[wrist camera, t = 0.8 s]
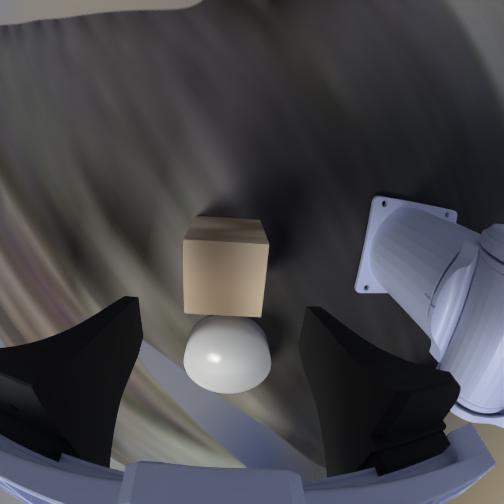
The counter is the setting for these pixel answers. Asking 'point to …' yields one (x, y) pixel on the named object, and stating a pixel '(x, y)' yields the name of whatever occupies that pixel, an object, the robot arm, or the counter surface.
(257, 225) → the beech block
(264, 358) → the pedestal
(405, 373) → the robot arm
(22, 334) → the counter surface
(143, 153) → the counter surface
